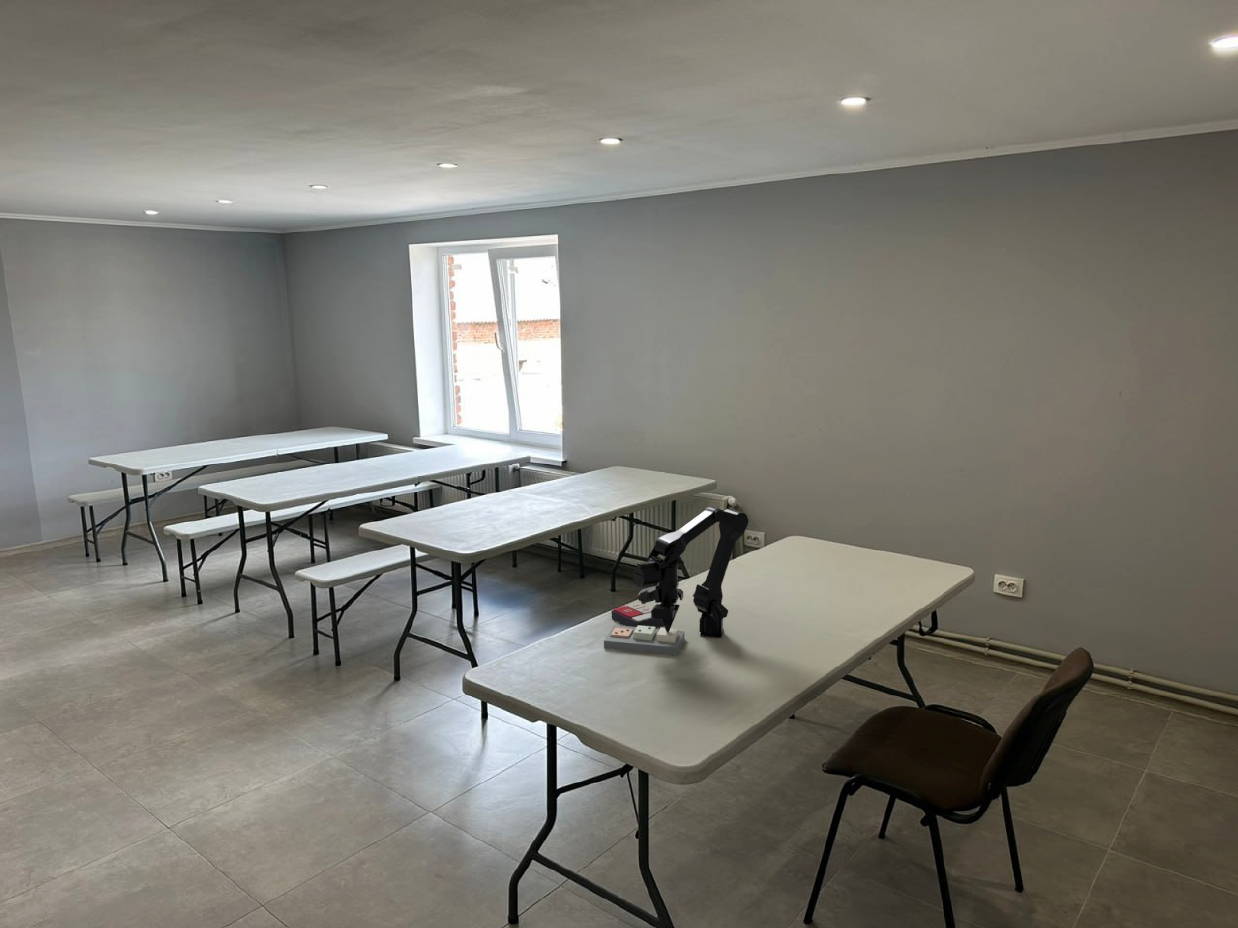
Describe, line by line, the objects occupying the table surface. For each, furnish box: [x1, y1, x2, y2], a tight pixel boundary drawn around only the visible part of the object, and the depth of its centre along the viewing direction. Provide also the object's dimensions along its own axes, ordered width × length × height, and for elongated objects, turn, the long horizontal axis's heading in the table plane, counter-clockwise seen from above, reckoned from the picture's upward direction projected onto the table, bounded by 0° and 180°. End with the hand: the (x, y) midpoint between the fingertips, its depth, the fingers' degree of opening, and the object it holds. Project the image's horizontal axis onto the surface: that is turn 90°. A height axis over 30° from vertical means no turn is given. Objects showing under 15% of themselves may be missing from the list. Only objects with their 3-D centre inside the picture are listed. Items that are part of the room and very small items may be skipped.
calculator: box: [611, 602, 665, 629], centre depth 257 cm, size 11×4×15 cm
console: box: [603, 624, 685, 656], centre depth 240 cm, size 22×12×2 cm, turn 75°
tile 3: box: [611, 628, 633, 639], centre depth 241 cm, size 5×5×3 cm
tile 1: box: [657, 626, 679, 643], centre depth 237 cm, size 5×5×3 cm
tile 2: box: [634, 625, 656, 641], centre depth 239 cm, size 5×5×3 cm
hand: (667, 630), depth 237 cm, fingers closed
